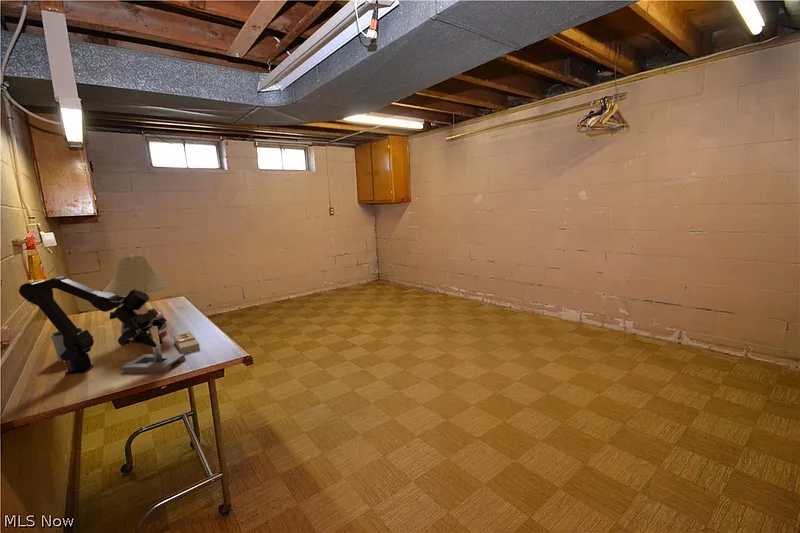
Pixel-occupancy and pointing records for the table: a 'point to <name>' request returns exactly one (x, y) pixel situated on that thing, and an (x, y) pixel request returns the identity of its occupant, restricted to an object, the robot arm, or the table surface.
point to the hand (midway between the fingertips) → (159, 344)
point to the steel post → (155, 339)
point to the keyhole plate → (153, 363)
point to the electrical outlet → (186, 342)
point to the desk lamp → (136, 282)
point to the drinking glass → (59, 343)
